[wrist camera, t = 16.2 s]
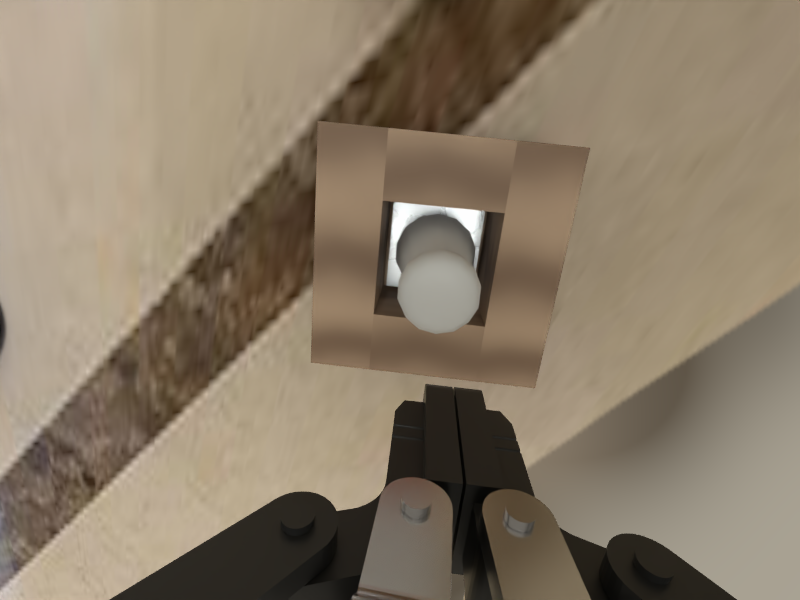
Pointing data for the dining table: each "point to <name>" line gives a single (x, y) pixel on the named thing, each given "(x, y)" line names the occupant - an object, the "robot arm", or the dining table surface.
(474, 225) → the white marbled square plate
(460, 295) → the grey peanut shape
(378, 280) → the holder
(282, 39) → the dining table surface
